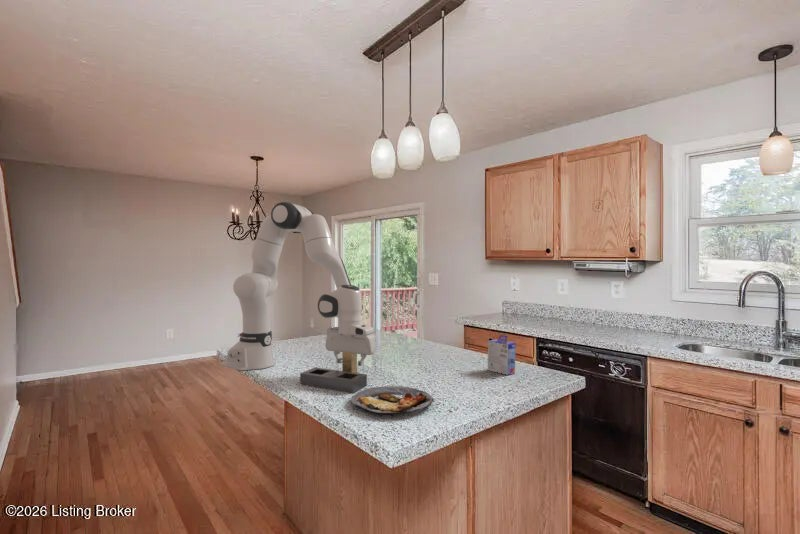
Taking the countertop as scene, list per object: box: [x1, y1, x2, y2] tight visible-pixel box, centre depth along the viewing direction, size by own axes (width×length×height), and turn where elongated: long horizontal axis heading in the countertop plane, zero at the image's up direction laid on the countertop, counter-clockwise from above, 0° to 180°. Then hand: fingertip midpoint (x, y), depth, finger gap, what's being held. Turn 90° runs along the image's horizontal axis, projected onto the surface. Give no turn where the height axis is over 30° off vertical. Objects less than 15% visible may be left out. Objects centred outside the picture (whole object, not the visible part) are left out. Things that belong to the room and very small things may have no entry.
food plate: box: [350, 385, 435, 415], centre depth 125 cm, size 25×23×4 cm
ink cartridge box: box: [487, 334, 517, 376], centre depth 162 cm, size 10×6×14 cm, turn 41°
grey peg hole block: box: [299, 367, 368, 394], centre depth 143 cm, size 22×9×4 cm, turn 66°
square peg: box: [341, 351, 358, 373], centre depth 153 cm, size 4×4×10 cm
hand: (350, 364), depth 154 cm, fingers open, 8 cm apart
